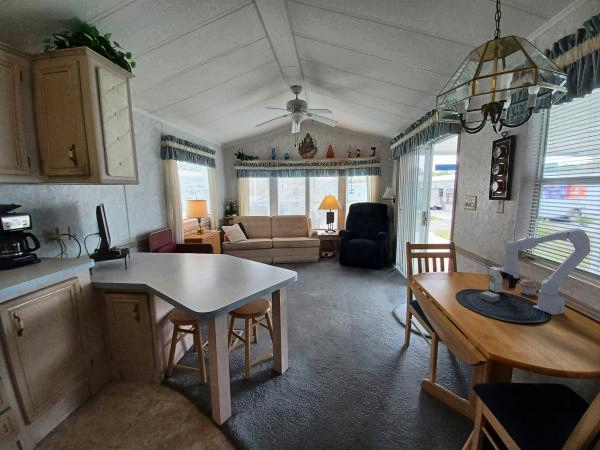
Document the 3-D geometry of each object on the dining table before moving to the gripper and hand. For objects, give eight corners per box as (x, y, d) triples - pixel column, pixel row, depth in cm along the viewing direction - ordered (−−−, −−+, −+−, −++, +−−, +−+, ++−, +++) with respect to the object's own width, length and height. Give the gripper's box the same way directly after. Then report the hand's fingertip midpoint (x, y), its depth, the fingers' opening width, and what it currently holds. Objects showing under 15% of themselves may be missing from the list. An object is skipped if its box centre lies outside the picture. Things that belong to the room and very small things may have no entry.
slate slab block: (499, 301, 146) (499, 295, 145) (491, 302, 143) (492, 297, 143) (487, 296, 152) (487, 291, 151) (479, 298, 149) (480, 292, 149)
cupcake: (513, 290, 159) (514, 275, 158) (528, 290, 159) (530, 275, 158) (525, 296, 150) (527, 280, 149) (542, 296, 150) (544, 280, 148)
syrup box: (504, 292, 157) (506, 269, 155) (494, 292, 157) (496, 269, 155) (497, 288, 163) (499, 266, 161) (487, 288, 163) (489, 266, 161)
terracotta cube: (515, 290, 143) (516, 281, 142) (509, 290, 142) (509, 282, 141) (507, 287, 147) (508, 278, 146) (501, 287, 146) (501, 279, 145)
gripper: (496, 259, 150) (494, 281, 152) (508, 266, 137) (506, 290, 138) (510, 259, 149) (508, 282, 150) (524, 267, 135) (522, 291, 137)
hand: (508, 286), depth 144 cm, fingers closed on terracotta cube, 6 cm apart
